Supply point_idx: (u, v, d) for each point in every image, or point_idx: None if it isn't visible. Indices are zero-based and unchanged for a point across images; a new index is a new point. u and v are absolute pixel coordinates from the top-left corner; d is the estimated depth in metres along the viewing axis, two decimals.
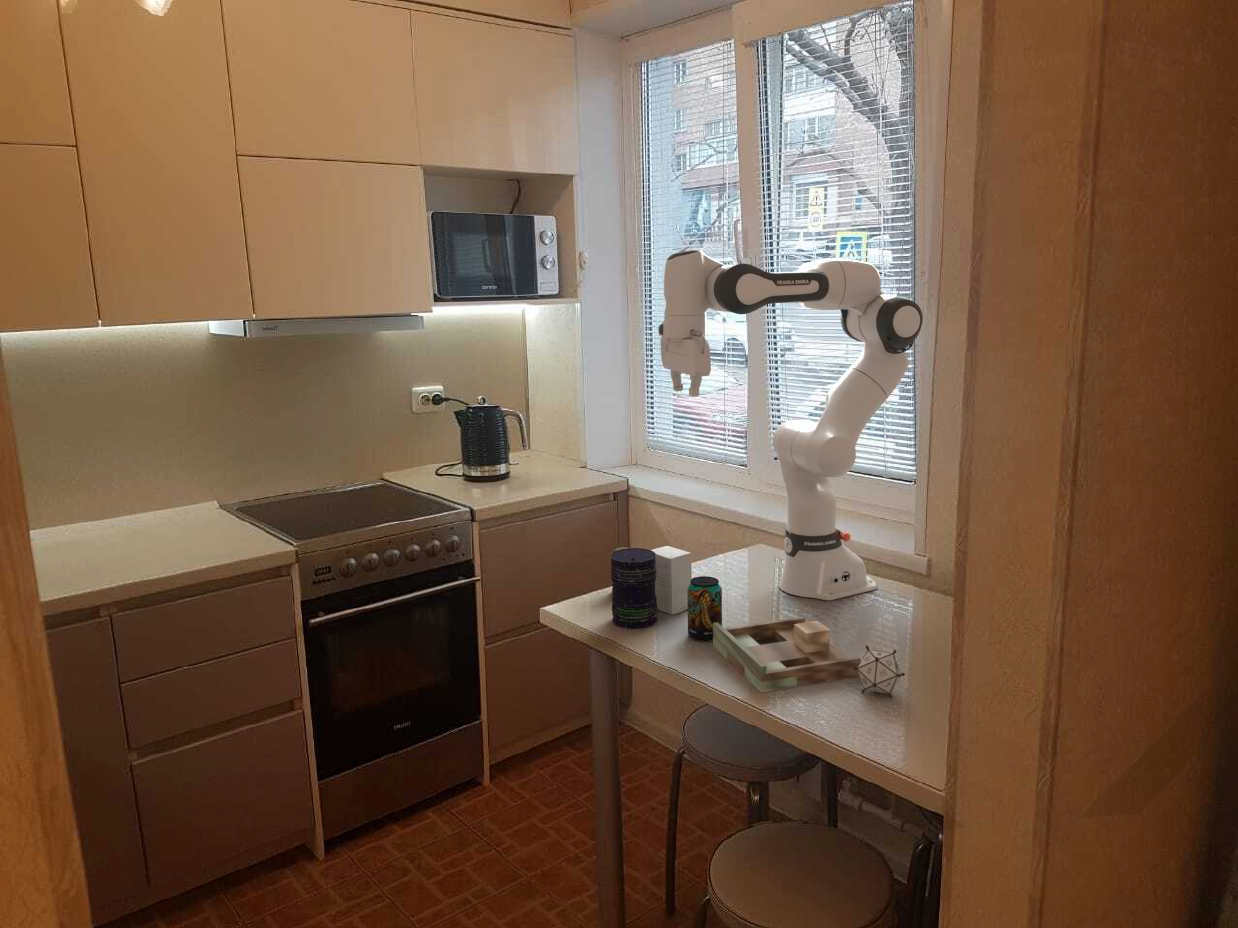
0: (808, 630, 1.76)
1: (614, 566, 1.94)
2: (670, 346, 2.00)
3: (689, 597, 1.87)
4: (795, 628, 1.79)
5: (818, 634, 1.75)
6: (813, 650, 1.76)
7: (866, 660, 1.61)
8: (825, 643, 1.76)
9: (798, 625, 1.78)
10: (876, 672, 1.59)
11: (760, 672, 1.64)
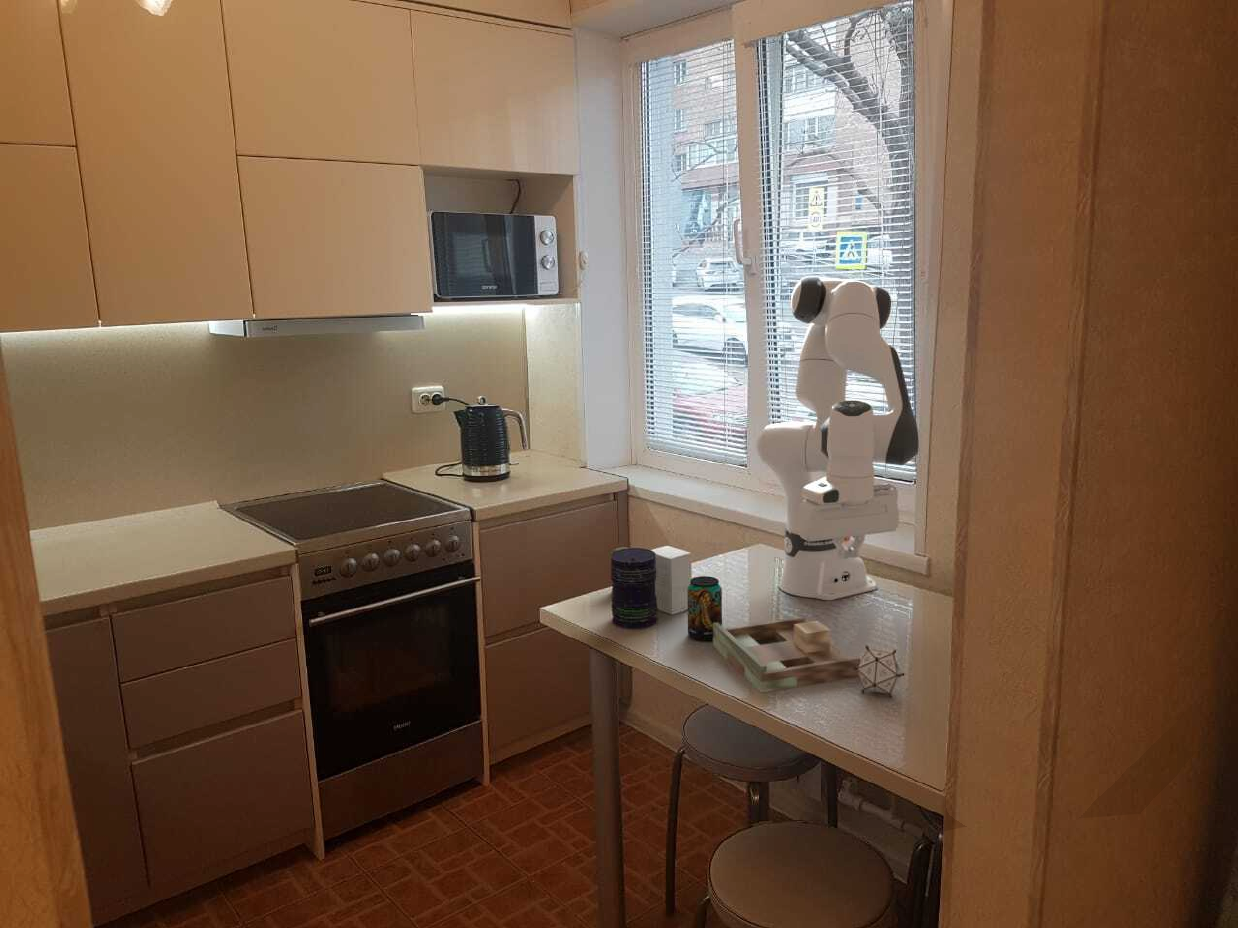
0: (808, 630, 1.76)
1: (614, 566, 1.94)
2: (829, 513, 1.72)
3: (689, 597, 1.87)
4: (795, 628, 1.79)
5: (818, 634, 1.75)
6: (813, 650, 1.76)
7: (866, 660, 1.61)
8: (825, 643, 1.76)
9: (798, 625, 1.78)
10: (876, 672, 1.59)
11: (760, 672, 1.64)
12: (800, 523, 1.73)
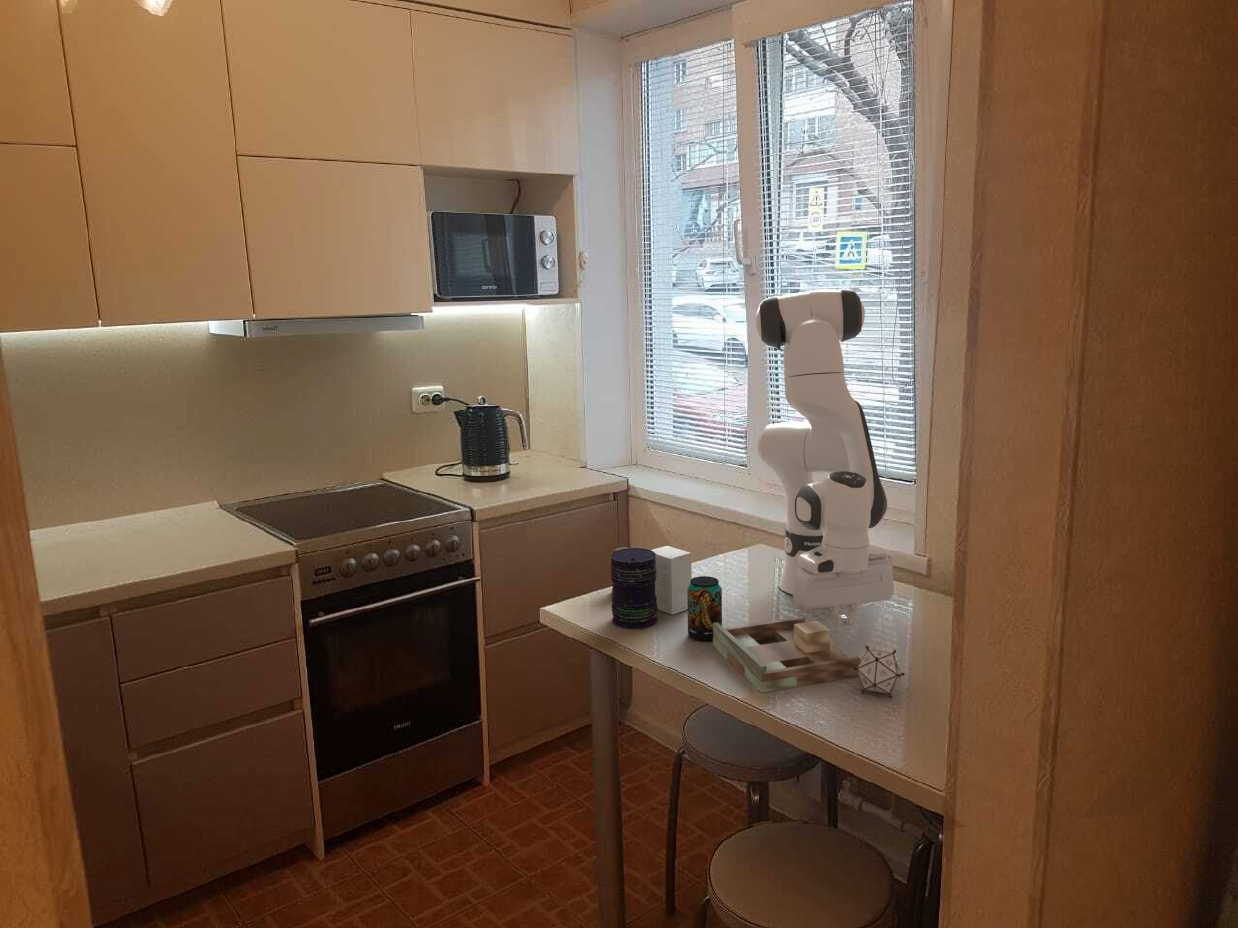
0: (808, 630, 1.76)
1: (614, 566, 1.94)
2: (824, 582, 1.75)
3: (689, 597, 1.87)
4: (795, 628, 1.79)
5: (818, 634, 1.75)
6: (813, 650, 1.76)
7: (866, 660, 1.61)
8: (825, 643, 1.76)
9: (798, 625, 1.78)
10: (876, 672, 1.59)
11: (760, 672, 1.64)
12: (796, 591, 1.76)
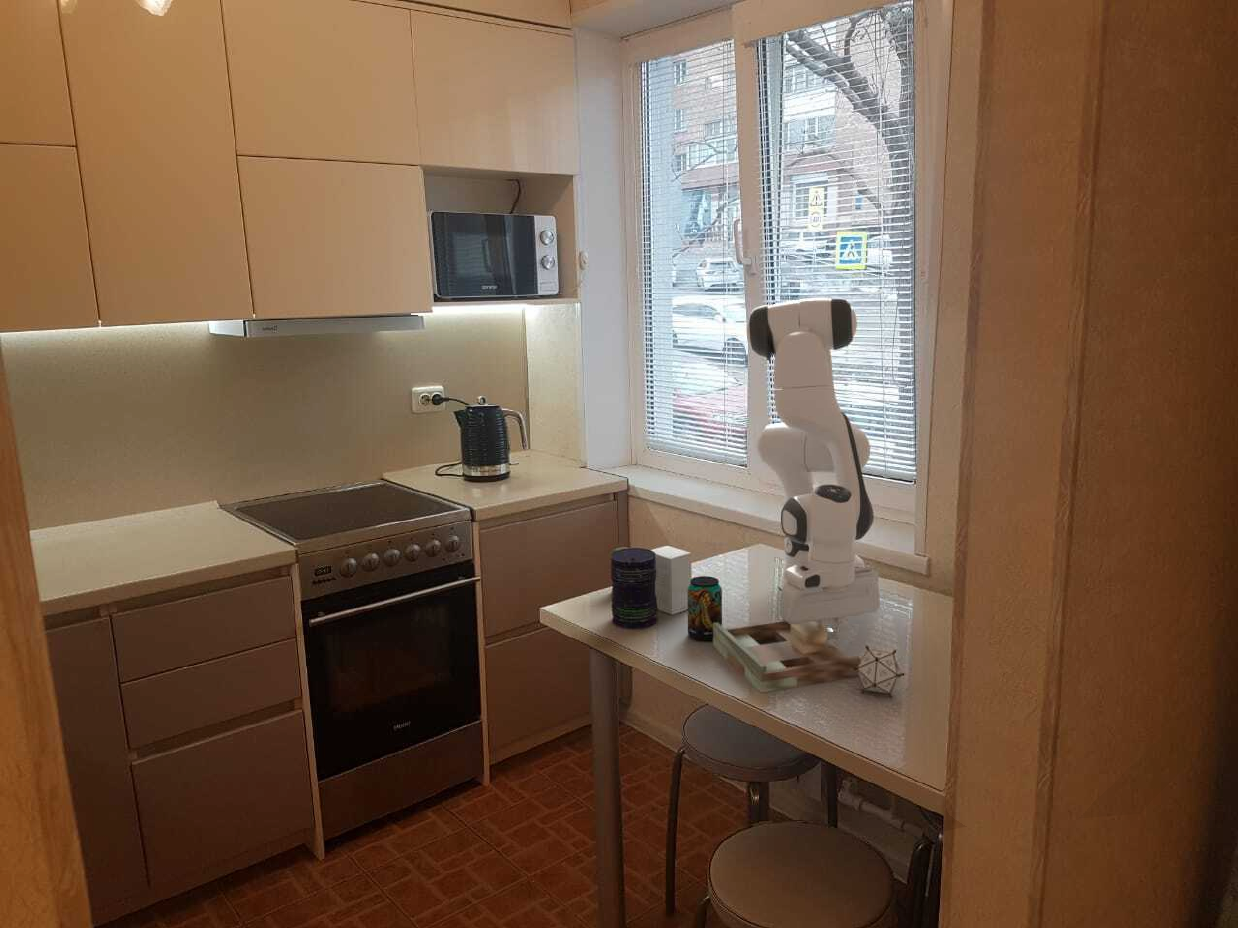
0: (805, 631, 1.76)
1: (614, 566, 1.94)
2: (811, 596, 1.74)
3: (689, 597, 1.87)
4: (792, 628, 1.78)
5: (815, 635, 1.75)
6: (810, 651, 1.75)
7: (866, 660, 1.61)
8: (822, 644, 1.76)
9: (795, 626, 1.78)
10: (876, 672, 1.59)
11: (760, 672, 1.64)
12: (783, 605, 1.75)
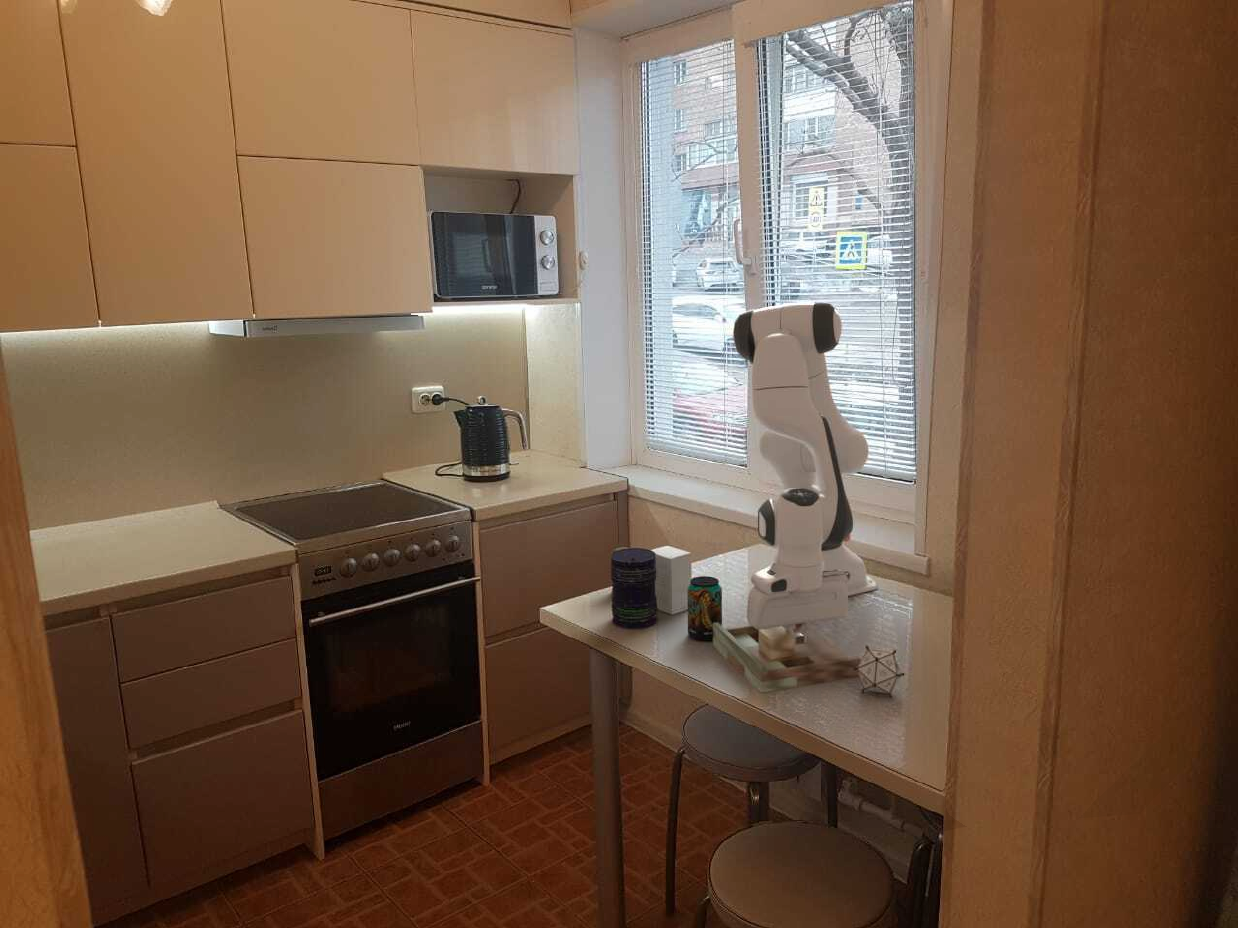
0: (773, 636, 1.73)
1: (614, 566, 1.94)
2: (778, 601, 1.72)
3: (689, 597, 1.87)
4: (759, 633, 1.76)
5: (783, 640, 1.73)
6: (777, 656, 1.73)
7: (866, 660, 1.61)
8: (790, 649, 1.74)
9: (763, 631, 1.76)
10: (876, 672, 1.59)
11: (760, 672, 1.64)
12: (749, 610, 1.73)
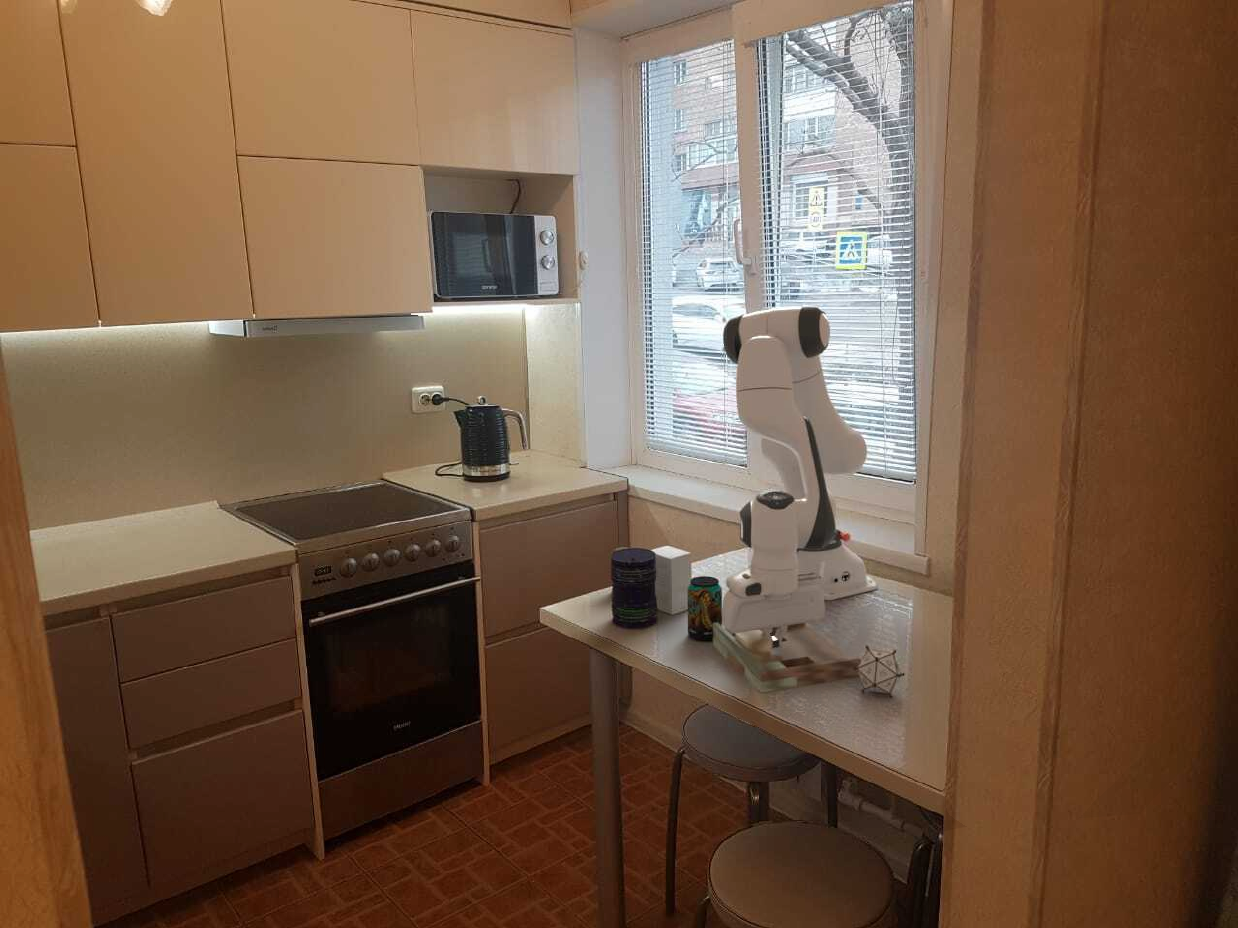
0: (749, 639, 1.72)
1: (614, 566, 1.94)
2: (753, 604, 1.71)
3: (689, 597, 1.87)
4: (736, 637, 1.75)
5: (759, 644, 1.72)
6: None
7: (866, 660, 1.61)
8: (766, 653, 1.73)
9: (739, 634, 1.75)
10: (876, 672, 1.59)
11: (760, 672, 1.64)
12: (724, 614, 1.72)
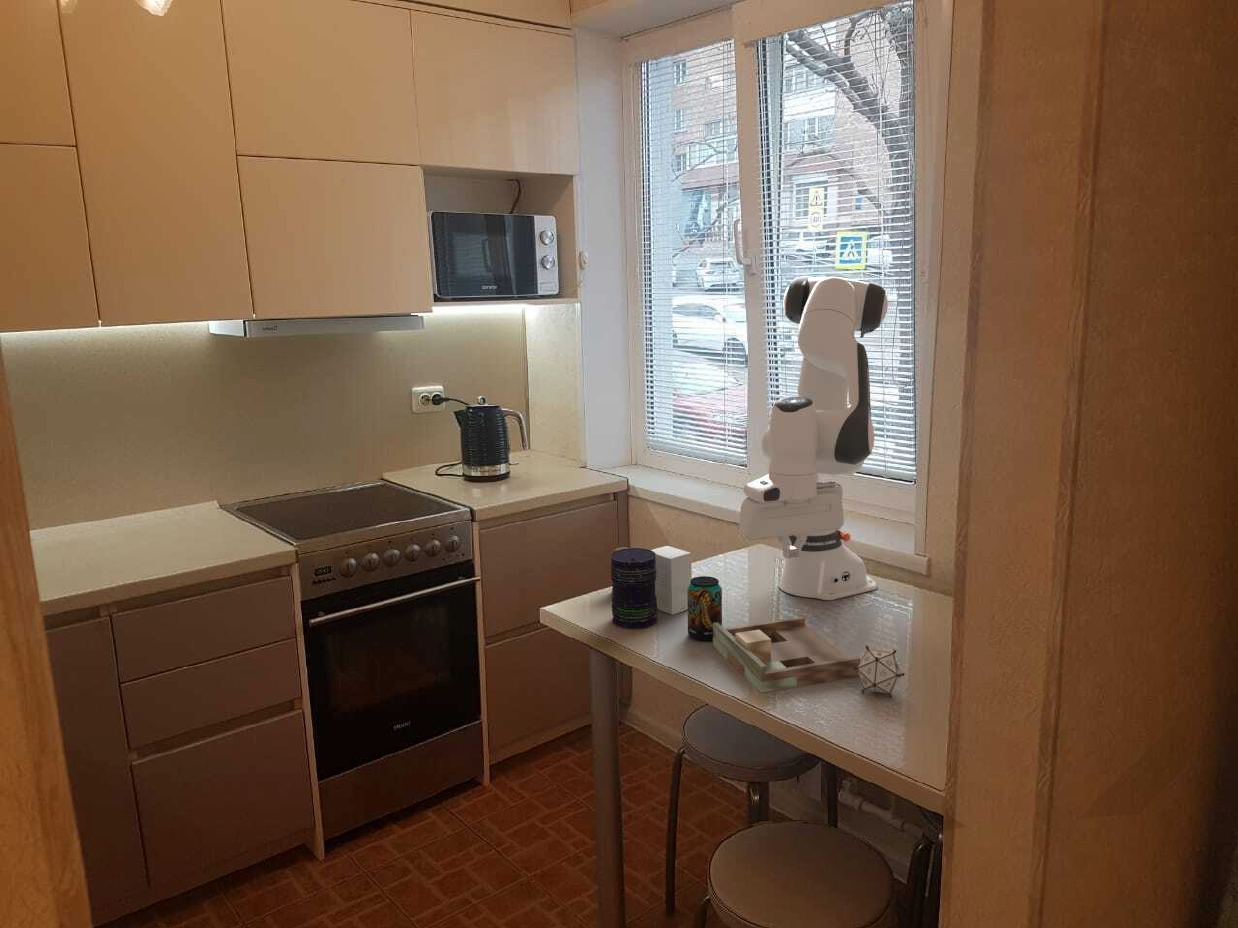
0: (749, 639, 1.72)
1: (614, 566, 1.94)
2: (771, 511, 1.68)
3: (689, 597, 1.87)
4: (736, 637, 1.75)
5: (759, 644, 1.72)
6: None
7: (866, 660, 1.61)
8: (766, 653, 1.73)
9: (739, 634, 1.75)
10: (876, 672, 1.59)
11: (760, 672, 1.64)
12: (742, 521, 1.69)
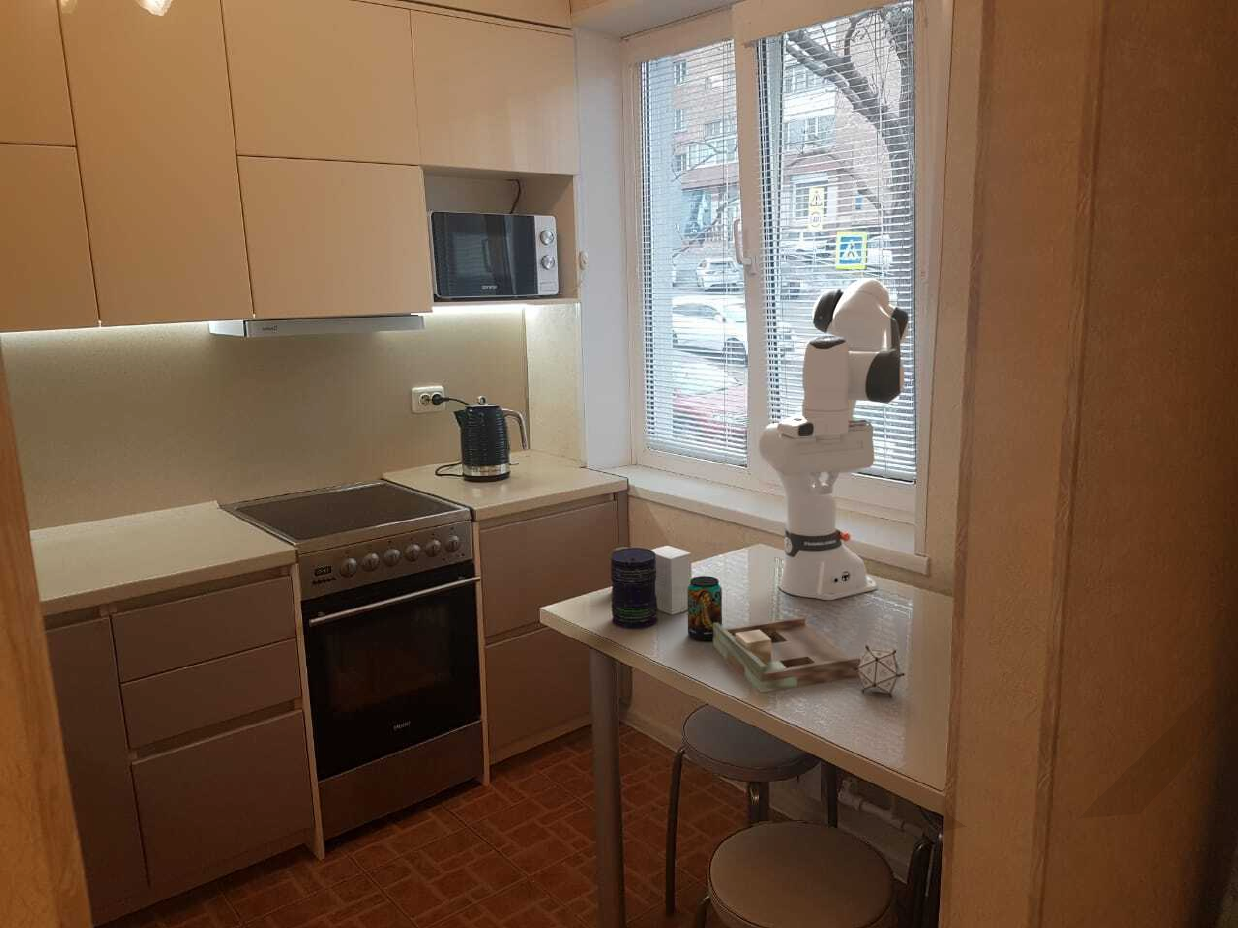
0: (749, 639, 1.72)
1: (614, 566, 1.94)
2: (804, 447, 1.73)
3: (689, 597, 1.87)
4: (736, 637, 1.75)
5: (759, 644, 1.72)
6: None
7: (866, 660, 1.61)
8: (766, 653, 1.73)
9: (739, 634, 1.75)
10: (876, 672, 1.59)
11: (760, 672, 1.64)
12: (776, 457, 1.74)
